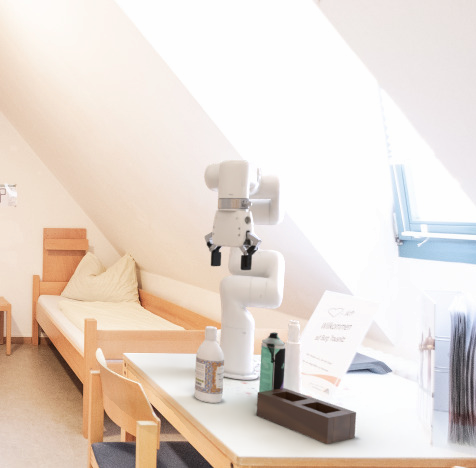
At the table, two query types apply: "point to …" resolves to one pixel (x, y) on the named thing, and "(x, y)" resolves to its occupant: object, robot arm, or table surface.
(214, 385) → the bath foam
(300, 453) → the table surface
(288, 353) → the cosmetic bottle
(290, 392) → the rack
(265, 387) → the spray can
